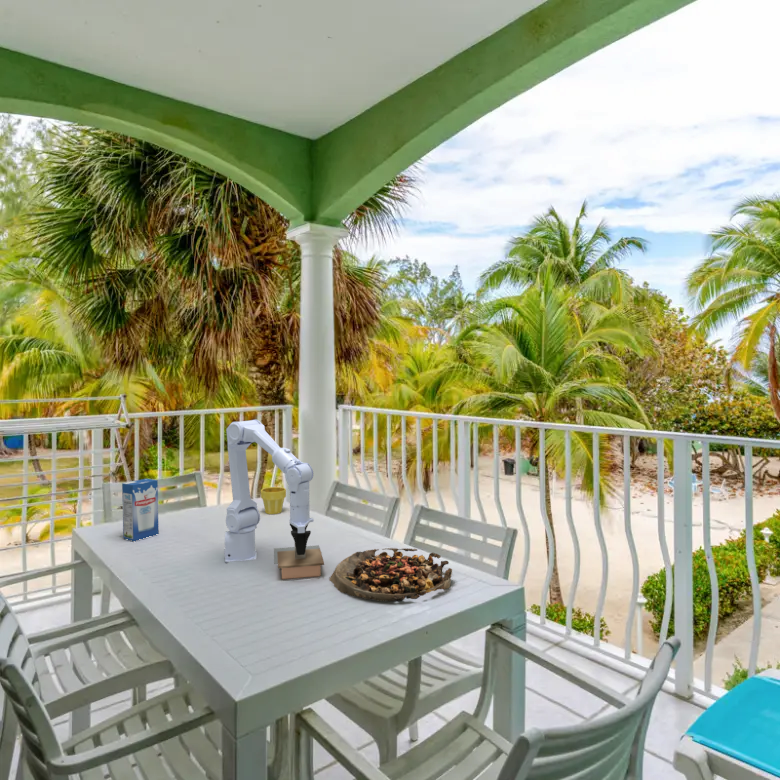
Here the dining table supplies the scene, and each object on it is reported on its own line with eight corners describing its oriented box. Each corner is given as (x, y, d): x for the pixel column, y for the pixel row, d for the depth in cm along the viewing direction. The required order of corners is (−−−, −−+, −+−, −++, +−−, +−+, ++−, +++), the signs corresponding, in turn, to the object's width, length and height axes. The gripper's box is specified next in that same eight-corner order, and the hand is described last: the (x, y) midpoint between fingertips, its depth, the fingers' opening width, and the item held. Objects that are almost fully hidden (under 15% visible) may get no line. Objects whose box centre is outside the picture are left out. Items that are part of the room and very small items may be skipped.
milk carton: (133, 541, 194) (132, 485, 193) (123, 539, 198) (121, 483, 197) (158, 534, 203) (157, 480, 202) (148, 532, 206) (147, 478, 205)
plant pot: (290, 513, 232) (289, 490, 232) (266, 516, 227) (265, 493, 226) (280, 508, 241) (280, 485, 240) (257, 511, 235) (257, 488, 235)
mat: (274, 565, 171) (274, 563, 171) (273, 549, 185) (273, 548, 185) (323, 561, 174) (323, 560, 174) (318, 546, 188) (318, 545, 188)
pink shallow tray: (281, 580, 158) (281, 566, 158) (281, 567, 169) (280, 554, 169) (320, 577, 161) (320, 563, 161) (317, 564, 171) (317, 551, 171)
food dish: (469, 576, 165) (470, 550, 164) (417, 622, 136) (418, 591, 136) (369, 552, 183) (370, 529, 182) (305, 589, 154) (305, 561, 154)
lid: (278, 568, 157) (277, 550, 157) (277, 553, 170) (277, 537, 169) (324, 564, 160) (324, 547, 160) (320, 550, 172) (319, 534, 172)
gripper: (315, 510, 158) (315, 557, 158) (311, 498, 172) (311, 541, 173) (290, 511, 156) (290, 559, 157) (288, 499, 170) (288, 543, 171)
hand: (300, 550), depth 165 cm, fingers open, 7 cm apart
